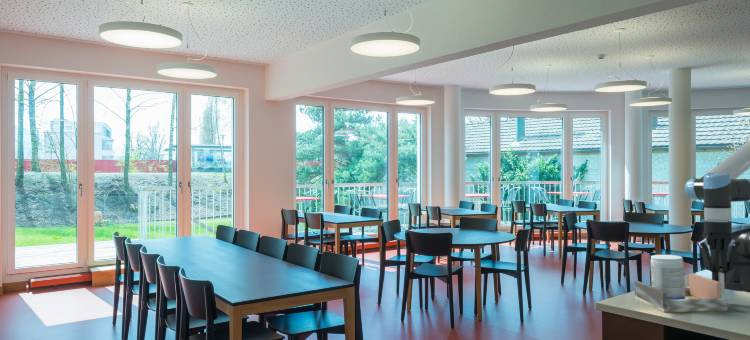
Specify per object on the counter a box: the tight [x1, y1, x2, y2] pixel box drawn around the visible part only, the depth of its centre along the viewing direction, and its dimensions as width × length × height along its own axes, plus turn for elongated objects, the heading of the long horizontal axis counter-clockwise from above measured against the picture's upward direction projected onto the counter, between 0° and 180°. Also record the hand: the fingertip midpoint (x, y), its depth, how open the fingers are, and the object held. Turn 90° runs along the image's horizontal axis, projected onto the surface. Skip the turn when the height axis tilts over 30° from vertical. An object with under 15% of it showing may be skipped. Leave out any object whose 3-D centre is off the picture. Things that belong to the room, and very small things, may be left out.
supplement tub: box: [650, 254, 686, 300], centre depth 170 cm, size 10×10×15 cm
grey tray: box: [634, 280, 728, 313], centre depth 170 cm, size 20×18×6 cm
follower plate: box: [688, 273, 723, 299], centre depth 170 cm, size 2×14×7 cm, turn 0°
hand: (719, 292), depth 170 cm, fingers closed
